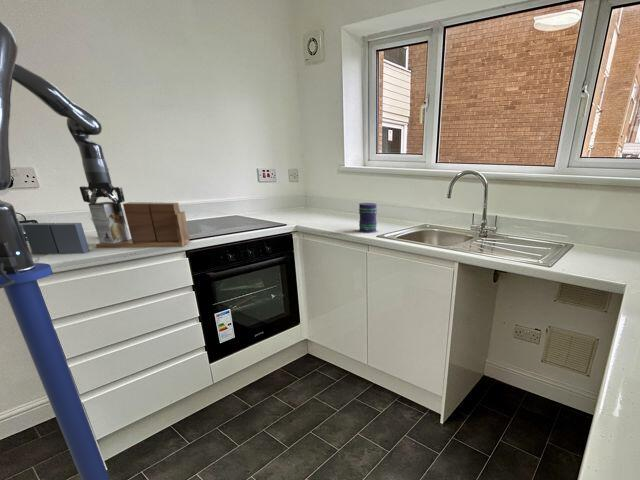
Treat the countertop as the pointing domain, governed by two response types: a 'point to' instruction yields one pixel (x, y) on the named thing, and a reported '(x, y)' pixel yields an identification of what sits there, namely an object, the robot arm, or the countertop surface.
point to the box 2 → (165, 221)
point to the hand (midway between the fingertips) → (107, 212)
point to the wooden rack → (182, 236)
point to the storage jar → (367, 217)
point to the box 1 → (140, 221)
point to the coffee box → (109, 223)
